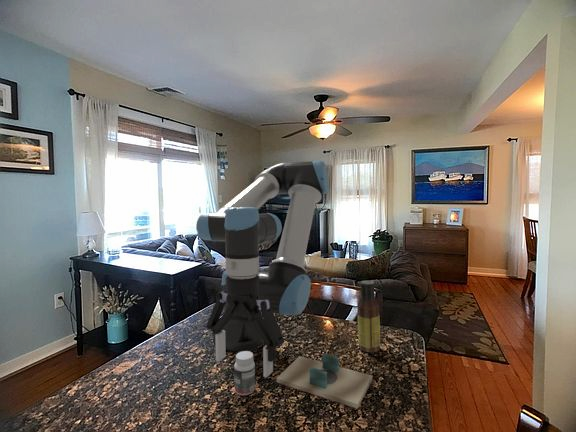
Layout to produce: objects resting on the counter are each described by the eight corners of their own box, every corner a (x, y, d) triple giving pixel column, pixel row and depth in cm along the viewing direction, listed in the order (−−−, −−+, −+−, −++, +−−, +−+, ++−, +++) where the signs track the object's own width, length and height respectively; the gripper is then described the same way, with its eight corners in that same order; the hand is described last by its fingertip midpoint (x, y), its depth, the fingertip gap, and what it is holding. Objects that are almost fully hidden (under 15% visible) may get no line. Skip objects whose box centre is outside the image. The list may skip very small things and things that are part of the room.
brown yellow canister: (378, 344, 96) (378, 279, 95) (382, 354, 90) (382, 285, 89) (356, 343, 97) (356, 278, 95) (358, 353, 91) (358, 284, 89)
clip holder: (276, 382, 77) (276, 364, 77) (299, 359, 88) (299, 343, 87) (357, 408, 68) (357, 388, 67) (372, 379, 78) (372, 361, 78)
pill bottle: (232, 386, 76) (231, 352, 75) (251, 381, 78) (251, 348, 77) (237, 398, 71) (236, 362, 71) (257, 392, 73) (257, 357, 73)
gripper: (190, 272, 75) (191, 360, 77) (281, 286, 63) (281, 390, 64) (212, 266, 82) (213, 347, 83) (298, 278, 70) (299, 372, 71)
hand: (243, 366), depth 74 cm, fingers open, 13 cm apart
